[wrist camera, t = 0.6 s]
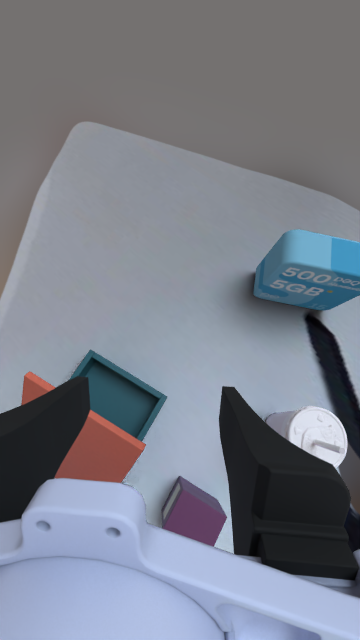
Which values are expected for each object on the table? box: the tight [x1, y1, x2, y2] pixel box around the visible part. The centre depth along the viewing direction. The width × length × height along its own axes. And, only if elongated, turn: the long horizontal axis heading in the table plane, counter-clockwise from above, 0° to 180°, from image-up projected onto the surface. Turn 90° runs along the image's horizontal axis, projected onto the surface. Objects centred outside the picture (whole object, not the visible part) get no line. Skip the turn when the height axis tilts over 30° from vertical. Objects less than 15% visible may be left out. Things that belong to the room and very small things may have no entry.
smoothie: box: [266, 406, 347, 468], centre depth 31 cm, size 6×6×14 cm
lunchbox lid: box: [22, 372, 146, 483], centre depth 26 cm, size 14×11×1 cm
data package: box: [254, 230, 360, 310], centre depth 37 cm, size 12×4×12 cm, turn 80°
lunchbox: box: [69, 350, 167, 442], centre depth 34 cm, size 13×11×4 cm
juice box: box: [162, 476, 227, 547], centre depth 32 cm, size 4×6×5 cm
